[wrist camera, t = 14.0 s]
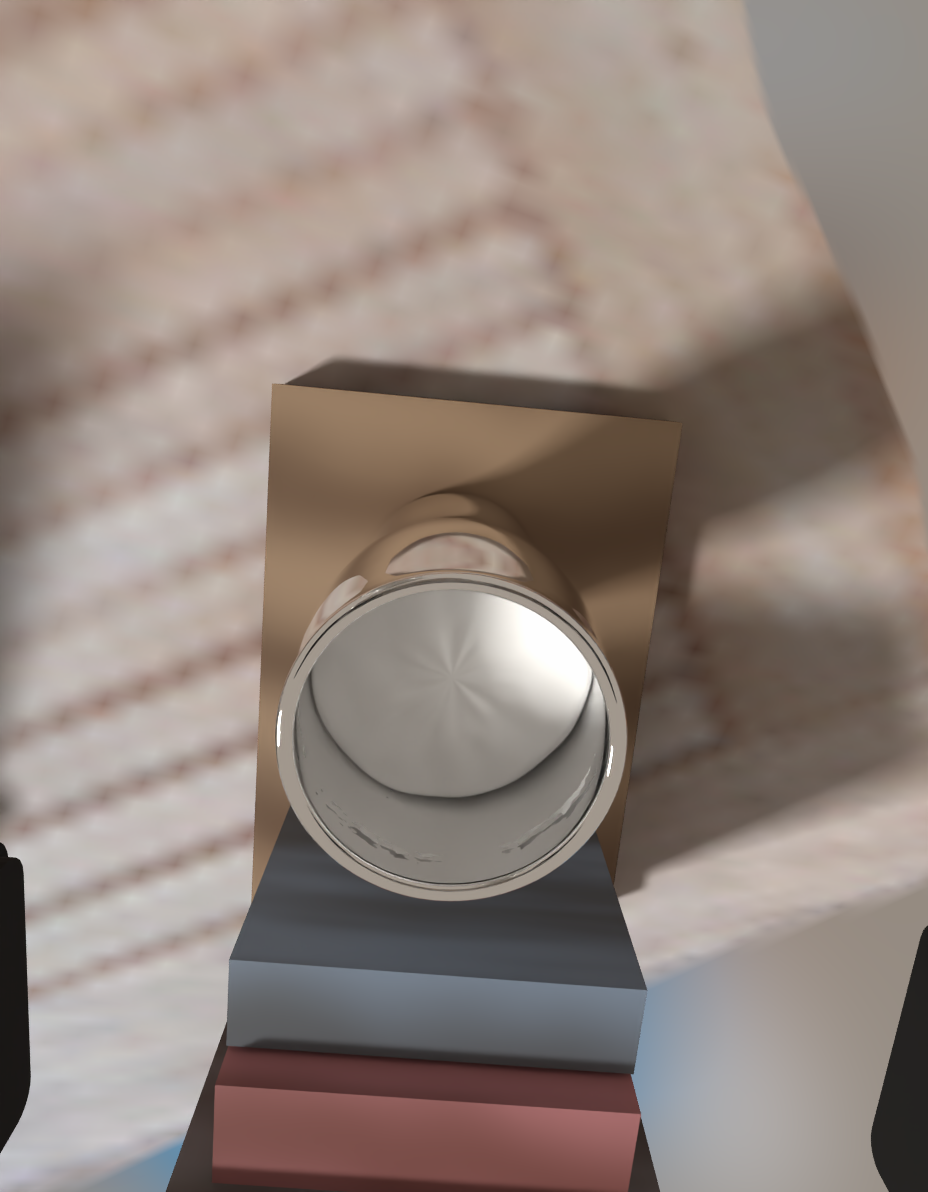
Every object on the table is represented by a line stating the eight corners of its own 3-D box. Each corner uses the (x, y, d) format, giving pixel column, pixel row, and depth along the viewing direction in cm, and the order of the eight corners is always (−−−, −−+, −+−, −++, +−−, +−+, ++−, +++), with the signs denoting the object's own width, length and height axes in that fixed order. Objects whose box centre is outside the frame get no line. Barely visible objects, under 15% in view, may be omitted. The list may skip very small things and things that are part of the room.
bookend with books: (283, 384, 31) (108, 376, 15) (668, 421, 31) (882, 449, 16) (262, 880, 35) (111, 1265, 20) (597, 906, 36) (708, 1301, 20)
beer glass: (317, 537, 30) (189, 672, 15) (493, 443, 29) (534, 490, 15) (413, 702, 31) (378, 969, 17) (582, 615, 31) (700, 815, 16)
